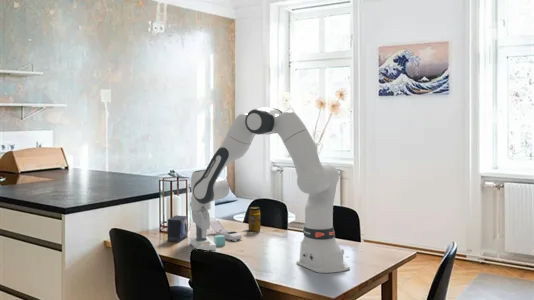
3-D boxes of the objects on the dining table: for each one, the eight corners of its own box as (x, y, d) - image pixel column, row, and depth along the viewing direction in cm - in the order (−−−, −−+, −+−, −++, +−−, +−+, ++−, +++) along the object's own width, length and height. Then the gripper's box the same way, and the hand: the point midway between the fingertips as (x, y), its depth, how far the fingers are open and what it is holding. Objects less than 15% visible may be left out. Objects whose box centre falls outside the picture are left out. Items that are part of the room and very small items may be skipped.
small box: (180, 242, 244) (180, 219, 243) (167, 241, 245) (166, 219, 244) (188, 237, 254) (187, 215, 253) (175, 236, 256) (175, 215, 255)
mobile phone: (218, 220, 266) (244, 228, 246) (218, 231, 267) (245, 240, 247) (207, 221, 263) (233, 230, 243) (207, 233, 263) (234, 242, 243)
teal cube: (225, 245, 238) (225, 236, 238) (216, 246, 237) (216, 237, 236) (222, 243, 242) (222, 234, 241) (214, 244, 240) (214, 235, 240)
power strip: (216, 250, 229) (216, 243, 229) (198, 251, 227) (198, 245, 226) (207, 241, 244) (207, 236, 244) (190, 243, 242) (190, 237, 241)
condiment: (264, 231, 267) (264, 207, 266) (251, 233, 261) (251, 209, 260) (254, 228, 272) (254, 205, 271) (242, 231, 266) (241, 207, 266)
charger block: (206, 245, 238) (205, 227, 237) (198, 246, 236) (198, 227, 236) (204, 243, 241) (204, 225, 240) (196, 244, 240) (196, 226, 239)
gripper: (213, 208, 229) (213, 239, 230) (202, 201, 248) (203, 230, 249) (199, 209, 227) (199, 241, 228) (189, 202, 246) (189, 231, 247)
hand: (201, 235), depth 238 cm, fingers open, 8 cm apart
